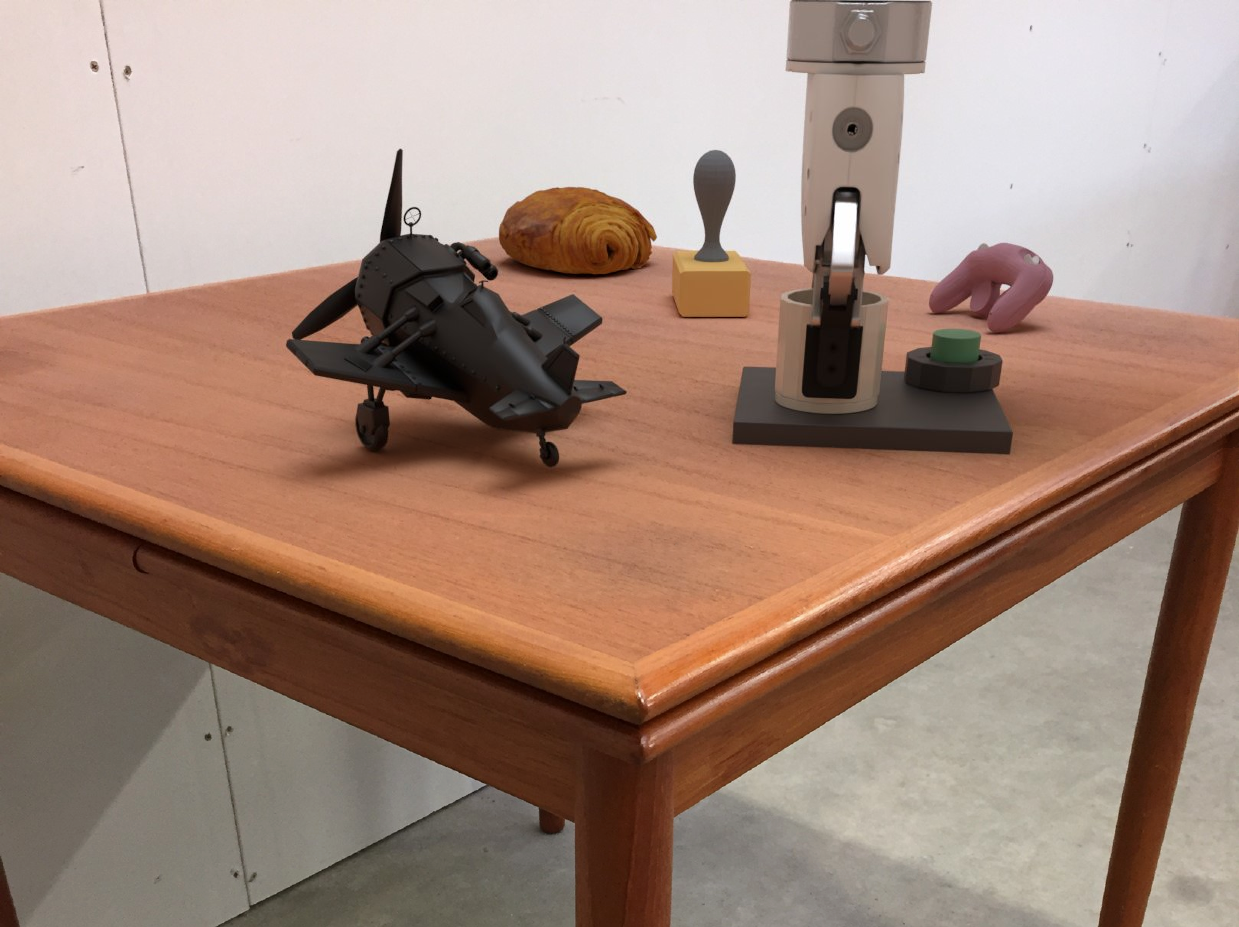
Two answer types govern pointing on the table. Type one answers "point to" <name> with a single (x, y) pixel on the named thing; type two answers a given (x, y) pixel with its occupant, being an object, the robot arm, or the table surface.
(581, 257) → the croissant
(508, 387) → the airplane toy
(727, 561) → the table surface
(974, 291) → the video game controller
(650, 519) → the table surface
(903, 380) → the scale
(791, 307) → the cup
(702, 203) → the rubber stamp
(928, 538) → the table surface
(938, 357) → the tare button
